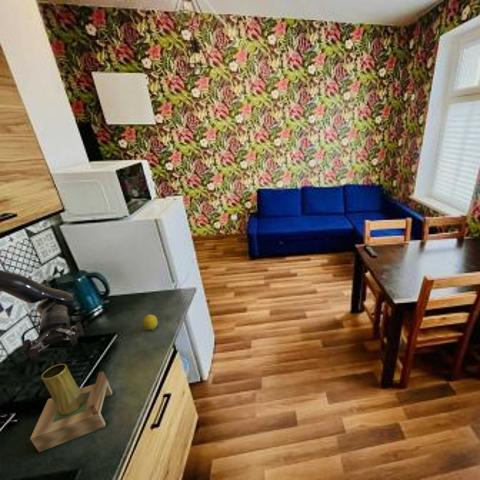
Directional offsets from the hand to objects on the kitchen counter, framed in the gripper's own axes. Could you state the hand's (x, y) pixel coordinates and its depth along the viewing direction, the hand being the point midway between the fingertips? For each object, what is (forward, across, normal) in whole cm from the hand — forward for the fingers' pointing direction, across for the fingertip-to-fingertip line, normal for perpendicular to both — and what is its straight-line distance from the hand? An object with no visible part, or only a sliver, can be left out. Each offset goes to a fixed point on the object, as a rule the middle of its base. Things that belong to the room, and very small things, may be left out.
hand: (54, 350), depth 83 cm
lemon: (-19, +27, +20) cm, 39 cm away
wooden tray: (+11, 0, +20) cm, 23 cm away
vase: (+11, 0, +14) cm, 18 cm away
